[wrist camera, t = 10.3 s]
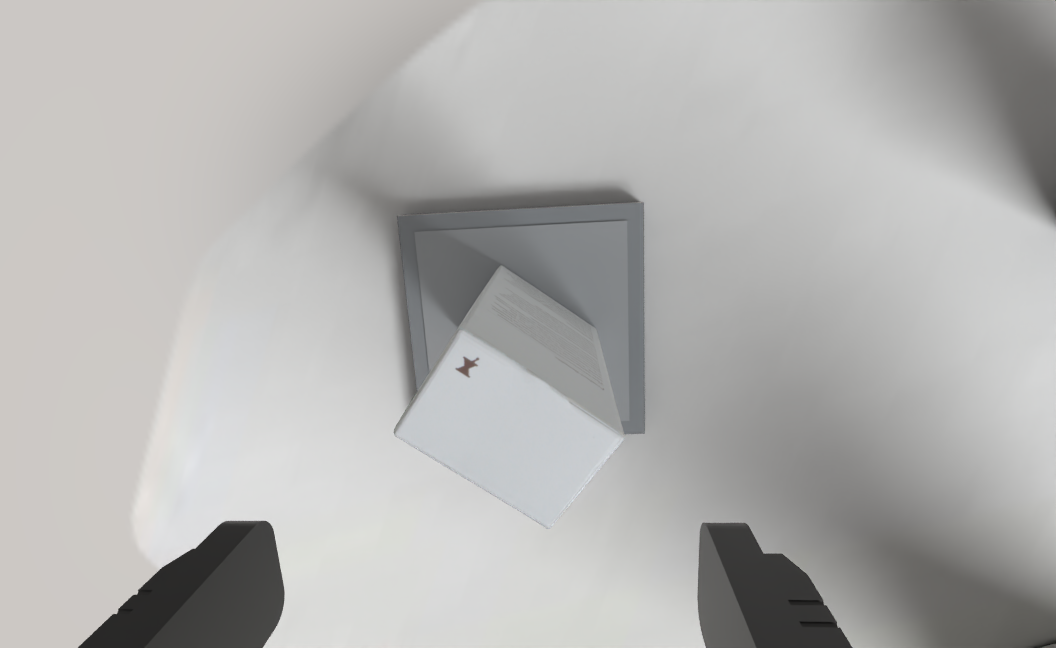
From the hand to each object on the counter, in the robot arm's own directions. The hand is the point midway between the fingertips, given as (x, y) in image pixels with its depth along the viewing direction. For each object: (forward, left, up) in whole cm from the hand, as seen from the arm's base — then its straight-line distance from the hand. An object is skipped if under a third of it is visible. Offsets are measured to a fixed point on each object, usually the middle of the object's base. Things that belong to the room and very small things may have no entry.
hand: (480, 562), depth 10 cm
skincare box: (0, 0, -19) cm, 19 cm away
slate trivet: (0, 0, -20) cm, 20 cm away
